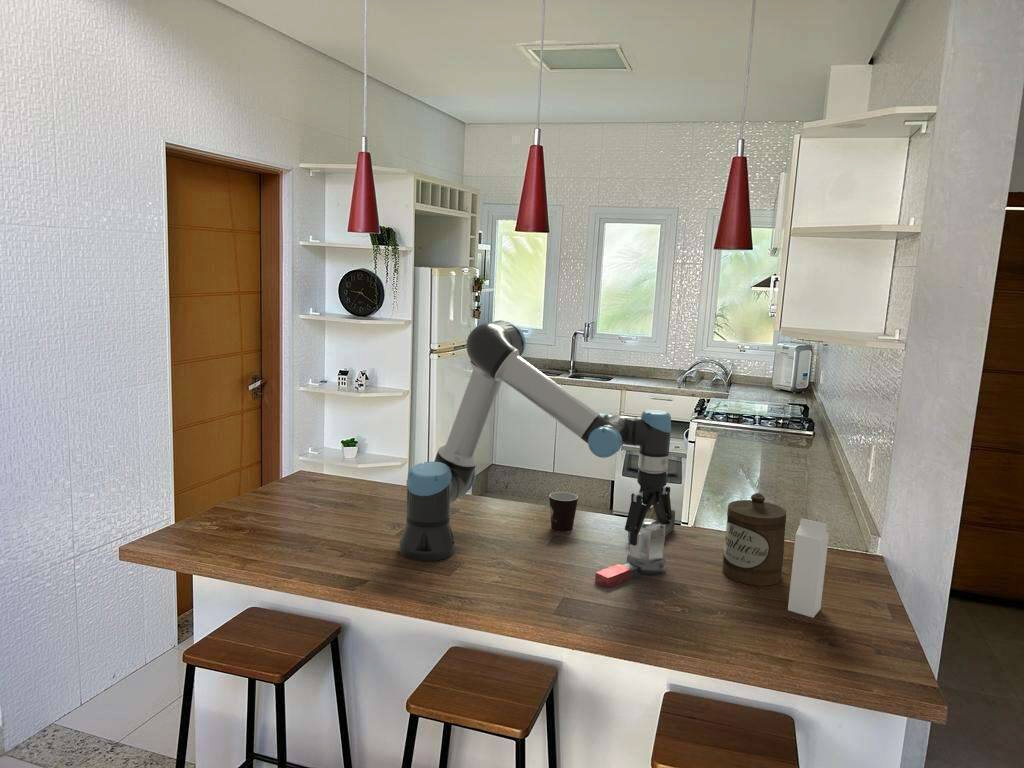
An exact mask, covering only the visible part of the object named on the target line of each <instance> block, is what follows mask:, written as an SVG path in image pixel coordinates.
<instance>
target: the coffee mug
mask: <svg viewBox="0 0 1024 768" xmlns="http://www.w3.org/2000/svg"><path fill="white" fill-rule="evenodd" d="M548 497H549V499H548V500H549V513H550V527H551V529H552V530H553V531H555V532H558V531H560V532H559V533H569V532H571V531H573V529H574V522H575V517H576V511H577V506H578V501H579V500H578V499H579V496H578V494H575V493H572V492H568V491H556V492H551V493H549V496H548ZM568 531H569V532H568Z"/></svg>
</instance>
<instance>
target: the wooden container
mask: <svg viewBox="0 0 1024 768" xmlns="http://www.w3.org/2000/svg"><path fill="white" fill-rule="evenodd" d="M765 500H766V497H765V496H764V495H763V494H762V493H759V492H756V493H753V494H752V495H751V496H750V499H740V500H733V501H730V502H729V503H728V505H727V514H726V515H727V516H726V526H725V535H724V543H723V544H724V545H723V554H722V555H723V557H722V567H721V568H722V569H721V570H722V573H723V574H724V575H725V576H727V577H728V578H730V579H731V580H734V581H736V582H738V583H742V584H745V585H746V584H747V585H751V586H758V587H759V586H762V587H763V586H770V585H771V586H772V585H775V584H779V582H780V581H781V580H782V573H783V563H784V555H785V554H784V551H785V537H786V536H785V535H786V534H785V533H786V524H787V523H786V520H787V511H786V509H785V508H783V507H781V506H780V505H777V504H775V503H771V502H767V501H765Z"/></svg>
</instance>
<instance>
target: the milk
mask: <svg viewBox="0 0 1024 768" xmlns="http://www.w3.org/2000/svg"><path fill="white" fill-rule="evenodd" d="M827 529H828V524H827V523H824V522H820V521H815V520H810V519H806V518H800V522H799V526H798V529H797V530H796V533H795V539H794V547H793V557H792V567H791V568H792V569H791V578H790V583H789V584H790V586H789V595H788V605H787V610H788V611H789V612H793V613H795V614H799V615H802V616H805V617H809V618H814V617H815V616H817V614H818V613H819V611H820V610H821V608H822V607H821V606H822V598H823V591H824V590H823V589H824V582H825V572H826V565H827V555H828V545H829V537H830V534H829V532H828V530H827Z"/></svg>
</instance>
